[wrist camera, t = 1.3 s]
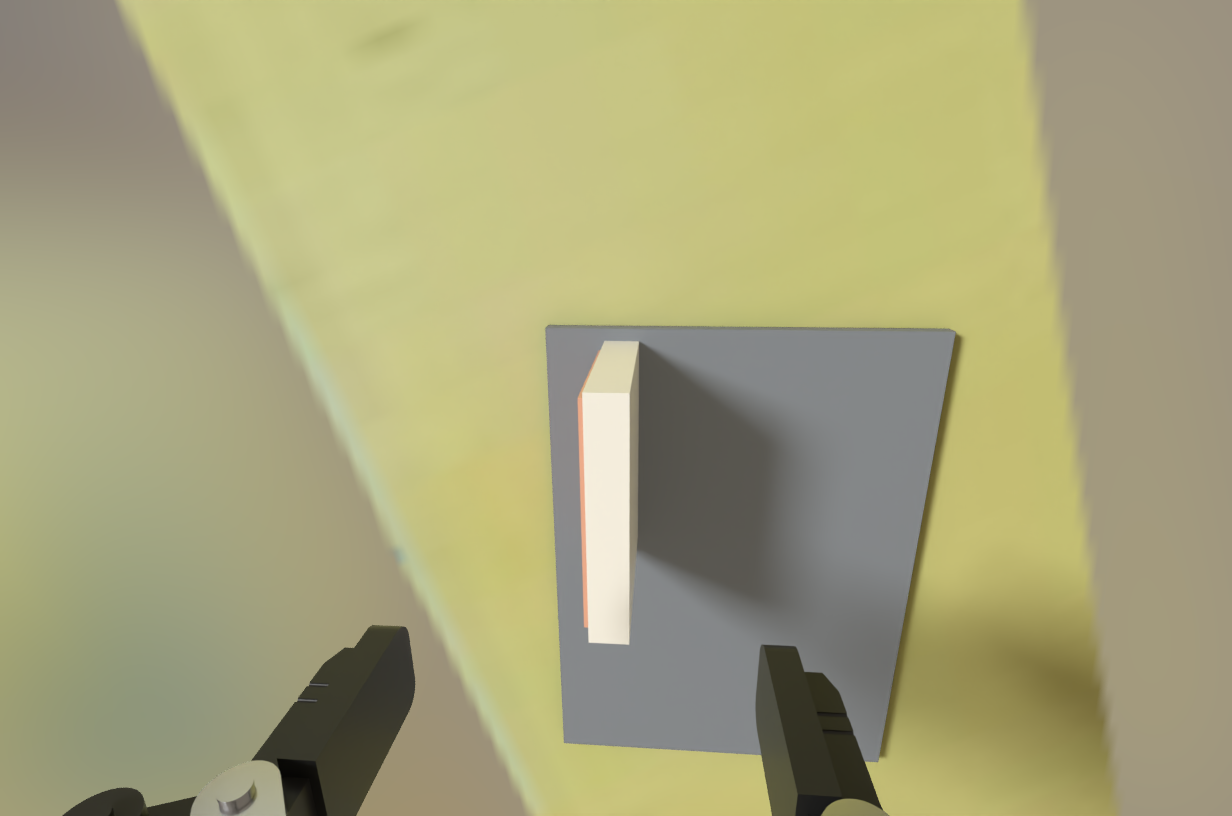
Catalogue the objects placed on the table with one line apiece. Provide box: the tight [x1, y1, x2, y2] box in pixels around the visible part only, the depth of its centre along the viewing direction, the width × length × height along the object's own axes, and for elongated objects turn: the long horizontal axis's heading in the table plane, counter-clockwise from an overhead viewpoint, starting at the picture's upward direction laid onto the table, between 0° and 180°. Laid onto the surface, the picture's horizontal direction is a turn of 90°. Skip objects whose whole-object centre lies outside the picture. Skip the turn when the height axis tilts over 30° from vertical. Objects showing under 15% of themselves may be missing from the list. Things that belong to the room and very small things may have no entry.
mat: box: [545, 325, 956, 762], centre depth 27 cm, size 22×16×1 cm
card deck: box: [578, 341, 639, 645], centre depth 22 cm, size 9×2×7 cm, turn 0°
